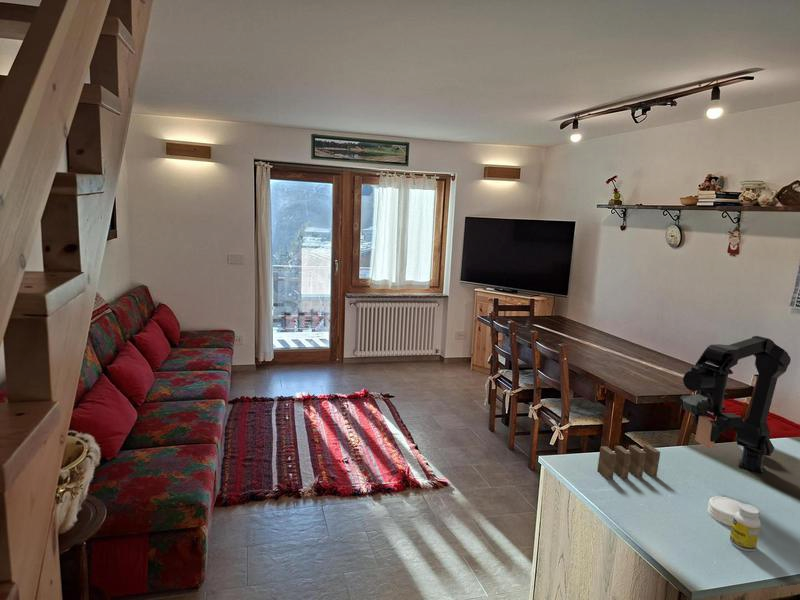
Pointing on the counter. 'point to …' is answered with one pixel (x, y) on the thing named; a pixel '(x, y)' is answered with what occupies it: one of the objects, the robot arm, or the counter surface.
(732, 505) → the white rounded piece
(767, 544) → the counter surface
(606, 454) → the walnut domino
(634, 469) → the walnut domino
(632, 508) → the counter surface
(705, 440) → the terracotta domino
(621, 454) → the walnut domino
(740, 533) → the supplement bottle
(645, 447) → the walnut domino
